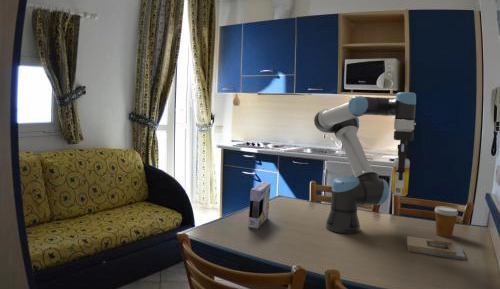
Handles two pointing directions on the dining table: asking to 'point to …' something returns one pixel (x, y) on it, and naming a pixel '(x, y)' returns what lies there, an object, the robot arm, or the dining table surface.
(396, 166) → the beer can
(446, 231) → the disposable coffee cup
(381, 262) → the dining table surface
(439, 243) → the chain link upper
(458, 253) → the grey flat plate
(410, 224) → the dining table surface
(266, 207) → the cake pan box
